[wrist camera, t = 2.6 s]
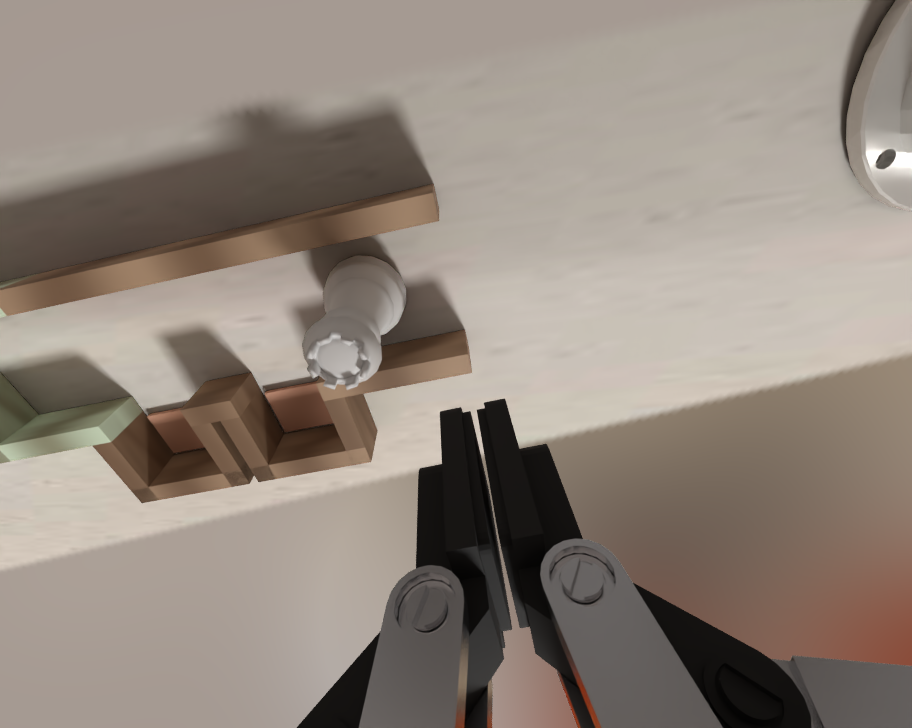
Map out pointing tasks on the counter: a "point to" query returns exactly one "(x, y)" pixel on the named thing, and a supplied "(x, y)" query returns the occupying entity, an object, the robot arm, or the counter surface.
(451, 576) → the robot arm
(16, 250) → the counter surface
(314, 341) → the rook chess piece
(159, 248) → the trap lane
